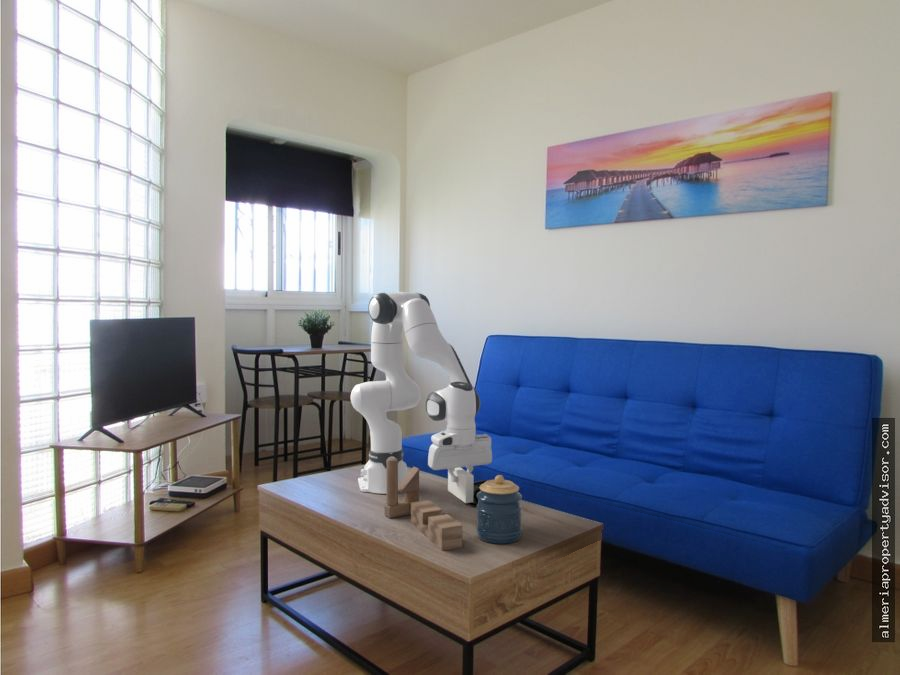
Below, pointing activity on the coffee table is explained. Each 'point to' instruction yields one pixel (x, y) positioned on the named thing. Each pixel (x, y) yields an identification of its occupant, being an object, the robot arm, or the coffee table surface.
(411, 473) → the wooden block
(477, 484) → the end cap
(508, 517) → the canister
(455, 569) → the coffee table surface
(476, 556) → the coffee table surface
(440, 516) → the walnut crossbar
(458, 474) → the white rectangular slab
